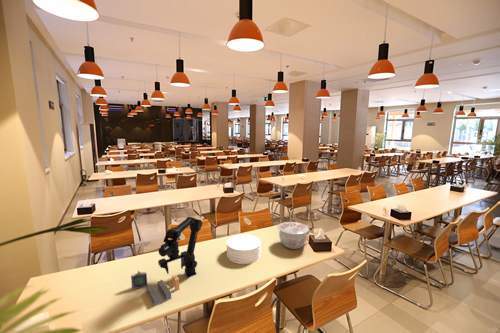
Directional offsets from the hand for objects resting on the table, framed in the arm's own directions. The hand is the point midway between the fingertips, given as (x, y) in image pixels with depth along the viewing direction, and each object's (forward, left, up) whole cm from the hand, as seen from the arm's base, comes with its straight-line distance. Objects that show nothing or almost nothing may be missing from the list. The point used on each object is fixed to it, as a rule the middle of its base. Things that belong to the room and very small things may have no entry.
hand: (174, 271), depth 151 cm
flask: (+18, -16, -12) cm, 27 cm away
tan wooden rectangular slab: (0, 0, -12) cm, 12 cm away
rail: (+11, 0, -12) cm, 16 cm away
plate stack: (-60, -5, -12) cm, 61 cm away
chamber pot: (-104, +10, -12) cm, 105 cm away
